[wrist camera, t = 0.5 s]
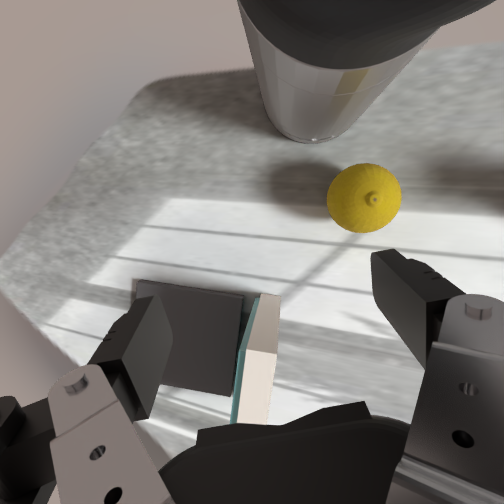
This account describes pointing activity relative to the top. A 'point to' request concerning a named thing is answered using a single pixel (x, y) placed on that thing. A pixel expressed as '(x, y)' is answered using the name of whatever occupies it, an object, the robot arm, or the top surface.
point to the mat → (199, 336)
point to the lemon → (364, 198)
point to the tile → (257, 362)
